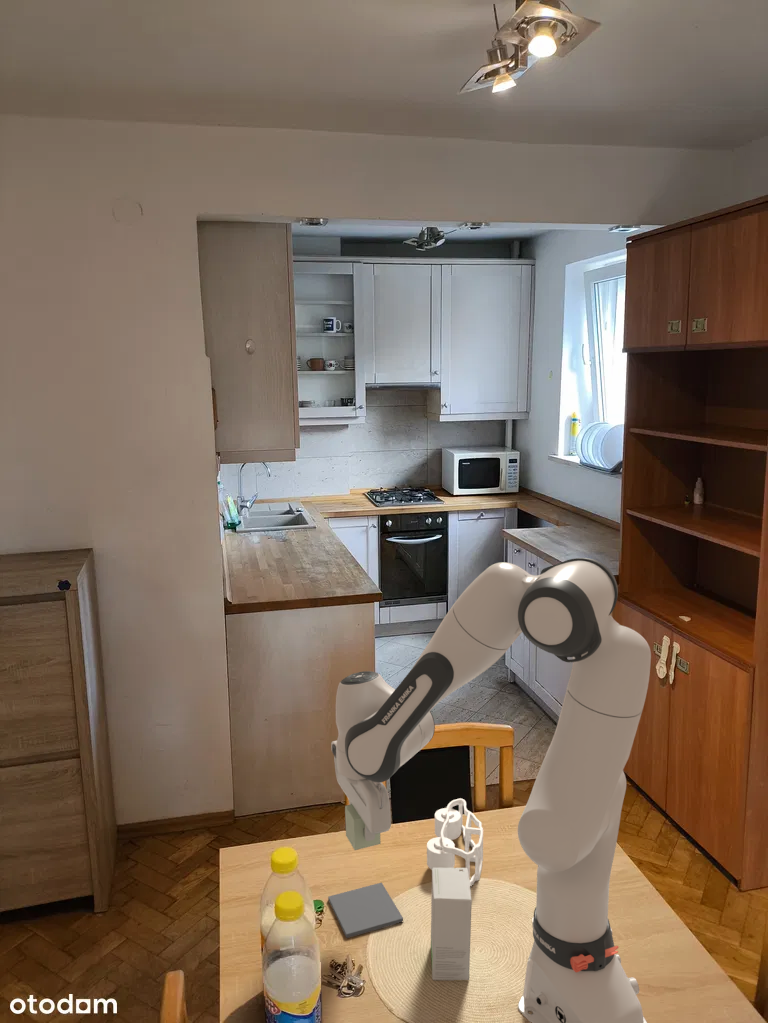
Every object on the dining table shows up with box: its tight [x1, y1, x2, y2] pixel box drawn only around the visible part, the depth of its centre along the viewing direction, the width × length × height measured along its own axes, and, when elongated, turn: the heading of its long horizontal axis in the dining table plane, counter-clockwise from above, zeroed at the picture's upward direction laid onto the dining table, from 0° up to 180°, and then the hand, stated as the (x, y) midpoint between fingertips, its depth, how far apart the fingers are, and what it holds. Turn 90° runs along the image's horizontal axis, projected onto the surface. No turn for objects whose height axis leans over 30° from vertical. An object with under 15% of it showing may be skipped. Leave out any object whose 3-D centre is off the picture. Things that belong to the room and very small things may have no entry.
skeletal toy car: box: [426, 797, 484, 887], centre depth 159 cm, size 20×11×7 cm, turn 168°
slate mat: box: [327, 882, 404, 939], centre depth 143 cm, size 11×11×1 cm
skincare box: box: [430, 867, 473, 981], centre depth 129 cm, size 8×7×16 cm
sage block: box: [344, 804, 382, 851], centre depth 140 cm, size 5×5×6 cm
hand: (363, 829), depth 140 cm, fingers closed on sage block, 5 cm apart
